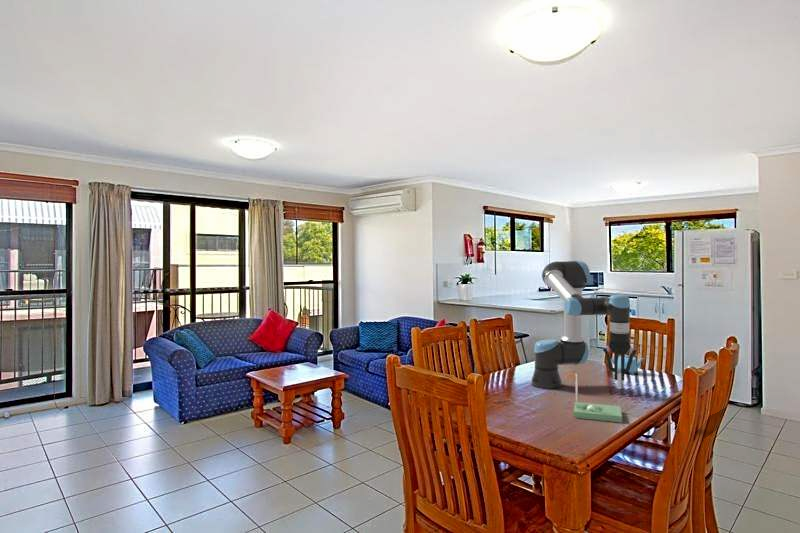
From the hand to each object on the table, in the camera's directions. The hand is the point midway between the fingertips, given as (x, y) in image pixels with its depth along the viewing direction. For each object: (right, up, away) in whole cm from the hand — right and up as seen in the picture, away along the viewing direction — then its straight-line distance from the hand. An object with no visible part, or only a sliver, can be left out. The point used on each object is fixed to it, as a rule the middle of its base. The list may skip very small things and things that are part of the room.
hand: (619, 387), depth 195 cm
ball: (-11, -9, +1) cm, 15 cm away
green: (-10, -11, 0) cm, 15 cm away
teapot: (+39, -10, +73) cm, 84 cm away
